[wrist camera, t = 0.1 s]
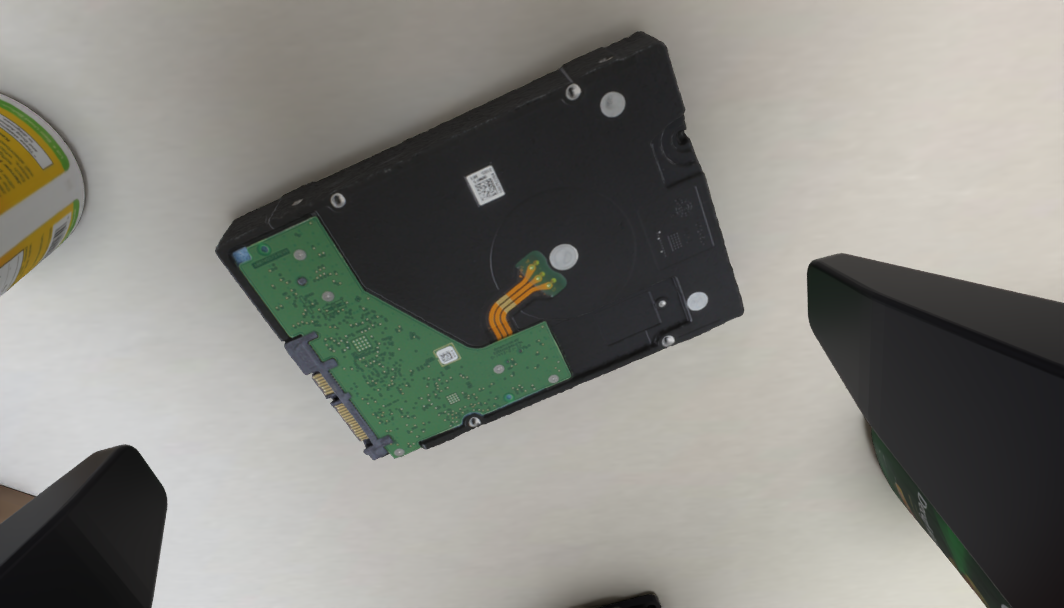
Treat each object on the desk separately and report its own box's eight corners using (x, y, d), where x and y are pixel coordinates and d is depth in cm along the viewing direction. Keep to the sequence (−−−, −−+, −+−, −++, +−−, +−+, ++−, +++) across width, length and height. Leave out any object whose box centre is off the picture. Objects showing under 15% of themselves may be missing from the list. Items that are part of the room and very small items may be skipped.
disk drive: (636, 18, 22) (226, 218, 23) (663, 30, 19) (203, 252, 20) (722, 279, 27) (383, 431, 28) (752, 315, 24) (379, 479, 25)
